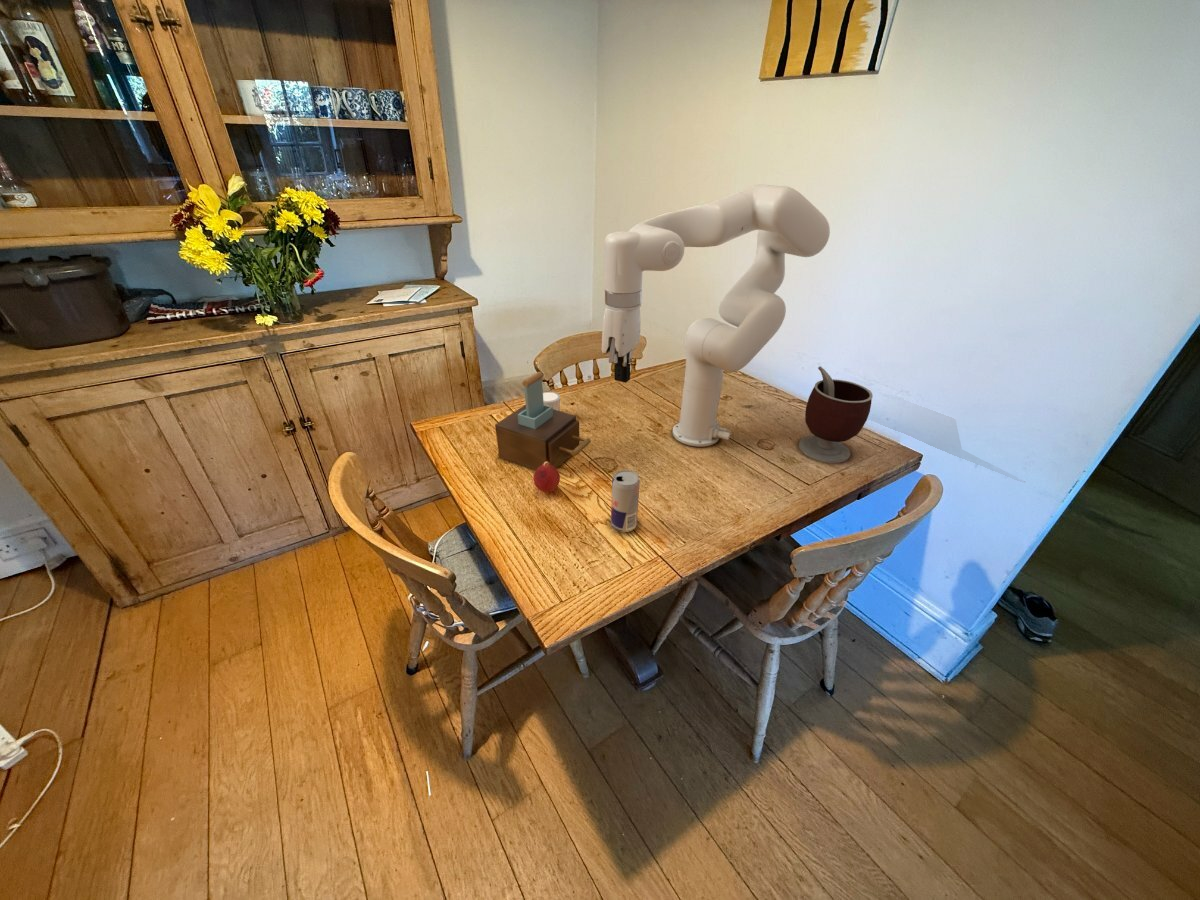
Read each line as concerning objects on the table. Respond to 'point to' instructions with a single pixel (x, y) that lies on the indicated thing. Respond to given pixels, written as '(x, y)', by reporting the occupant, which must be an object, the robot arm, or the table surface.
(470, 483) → the table surface
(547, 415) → the caddy
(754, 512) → the table surface
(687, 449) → the table surface
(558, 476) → the onion
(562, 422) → the cabinet
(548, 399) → the brown white round container
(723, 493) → the table surface
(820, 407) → the mate gourd
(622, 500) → the energy drink
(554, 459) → the drawer
